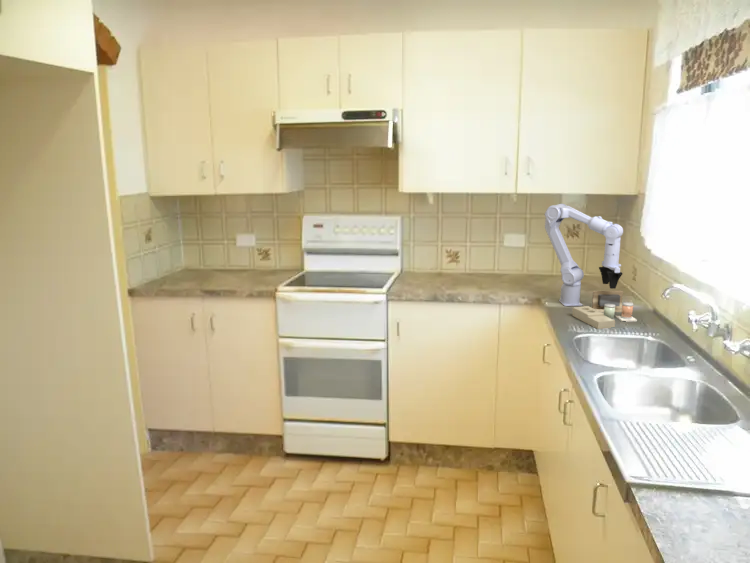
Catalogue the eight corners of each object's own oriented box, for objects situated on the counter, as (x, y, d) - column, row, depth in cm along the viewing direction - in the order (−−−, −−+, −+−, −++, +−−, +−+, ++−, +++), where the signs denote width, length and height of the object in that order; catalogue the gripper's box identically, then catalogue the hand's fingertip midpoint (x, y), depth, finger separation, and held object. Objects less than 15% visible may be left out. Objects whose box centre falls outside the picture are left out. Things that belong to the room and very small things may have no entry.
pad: (615, 317, 233) (615, 315, 233) (630, 316, 233) (630, 315, 233) (621, 321, 227) (621, 320, 227) (637, 321, 227) (637, 319, 227)
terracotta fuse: (626, 315, 232) (627, 301, 231) (634, 318, 229) (635, 303, 227) (618, 317, 231) (620, 302, 229) (626, 319, 227) (628, 305, 226)
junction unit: (590, 308, 244) (592, 290, 242) (619, 308, 244) (621, 290, 242) (595, 312, 240) (596, 293, 238) (624, 312, 239) (626, 293, 237)
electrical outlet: (598, 319, 218) (572, 307, 235) (598, 330, 219) (571, 316, 236) (615, 318, 219) (588, 305, 236) (614, 328, 220) (587, 315, 237)
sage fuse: (601, 317, 232) (603, 303, 231) (611, 317, 232) (613, 303, 231) (605, 320, 228) (606, 306, 227) (615, 320, 228) (617, 306, 227)
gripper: (628, 257, 230) (625, 290, 233) (614, 250, 244) (611, 281, 247) (611, 257, 230) (608, 290, 233) (597, 250, 244) (595, 281, 247)
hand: (609, 286), depth 240 cm, fingers open, 7 cm apart
